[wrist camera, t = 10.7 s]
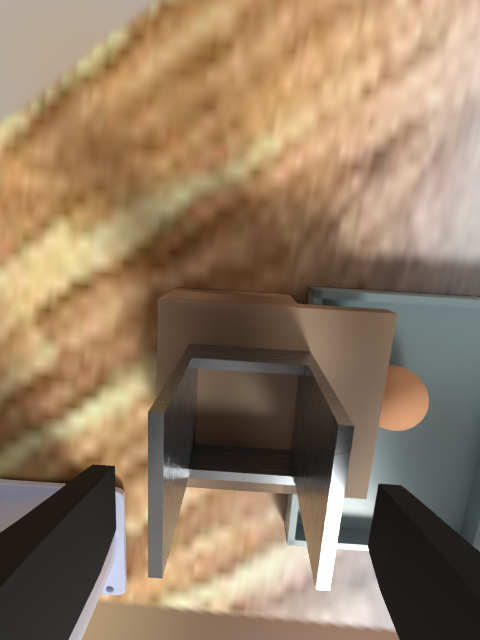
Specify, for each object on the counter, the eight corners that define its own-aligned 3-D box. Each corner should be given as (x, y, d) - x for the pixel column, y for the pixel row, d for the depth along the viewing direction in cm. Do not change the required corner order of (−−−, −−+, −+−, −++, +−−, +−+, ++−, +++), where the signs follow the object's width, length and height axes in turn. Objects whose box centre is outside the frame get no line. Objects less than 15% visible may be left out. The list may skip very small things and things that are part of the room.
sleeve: (186, 450, 15) (148, 577, 9) (189, 343, 14) (147, 412, 8) (298, 458, 15) (329, 590, 9) (310, 351, 14) (354, 426, 8)
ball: (386, 407, 19) (341, 415, 18) (395, 354, 18) (349, 358, 17) (437, 438, 16) (388, 449, 15) (450, 376, 15) (399, 383, 14)
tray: (284, 522, 21) (287, 545, 19) (308, 286, 17) (314, 290, 16) (459, 534, 21) (476, 558, 19) (517, 298, 17) (544, 303, 16)
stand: (175, 437, 20) (156, 484, 16) (177, 287, 18) (157, 298, 14) (342, 448, 20) (366, 499, 16) (364, 298, 18) (397, 313, 14)
